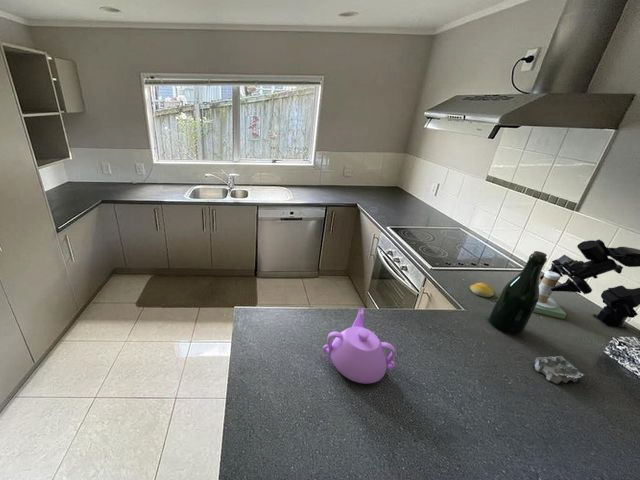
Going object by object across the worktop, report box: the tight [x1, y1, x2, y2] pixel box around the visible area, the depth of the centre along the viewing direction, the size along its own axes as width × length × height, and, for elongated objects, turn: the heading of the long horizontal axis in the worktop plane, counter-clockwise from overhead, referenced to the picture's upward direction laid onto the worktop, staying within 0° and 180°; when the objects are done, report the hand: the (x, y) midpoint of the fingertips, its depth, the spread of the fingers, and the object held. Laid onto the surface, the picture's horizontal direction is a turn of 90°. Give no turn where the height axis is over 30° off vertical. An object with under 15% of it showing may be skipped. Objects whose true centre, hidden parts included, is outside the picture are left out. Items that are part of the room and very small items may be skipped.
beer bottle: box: [488, 250, 548, 336], centre depth 104 cm, size 10×10×33 cm
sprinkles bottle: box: [538, 270, 562, 303], centre depth 119 cm, size 5×5×14 cm
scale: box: [533, 296, 567, 319], centre depth 122 cm, size 14×12×4 cm
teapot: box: [322, 306, 397, 384], centre depth 90 cm, size 22×22×14 cm
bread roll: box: [469, 282, 495, 298], centre depth 130 cm, size 8×9×4 cm
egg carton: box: [534, 355, 584, 385], centre depth 90 cm, size 11×8×4 cm
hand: (545, 284), depth 119 cm, fingers open, 9 cm apart
